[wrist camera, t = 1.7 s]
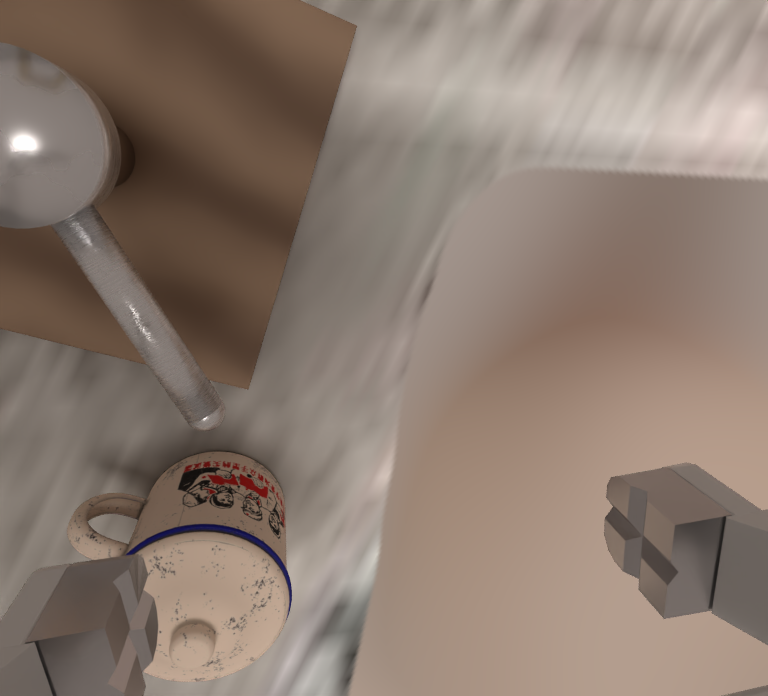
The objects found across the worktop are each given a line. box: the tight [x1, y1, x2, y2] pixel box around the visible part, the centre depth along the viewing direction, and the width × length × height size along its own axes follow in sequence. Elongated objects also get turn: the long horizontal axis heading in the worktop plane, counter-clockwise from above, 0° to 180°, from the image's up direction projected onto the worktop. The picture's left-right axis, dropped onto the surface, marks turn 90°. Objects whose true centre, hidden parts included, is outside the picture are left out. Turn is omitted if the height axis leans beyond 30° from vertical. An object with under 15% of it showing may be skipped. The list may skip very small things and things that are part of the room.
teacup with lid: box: [67, 452, 292, 682], centre depth 29 cm, size 12×9×12 cm
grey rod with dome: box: [0, 42, 225, 431], centre depth 19 cm, size 20×6×3 cm, turn 25°
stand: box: [0, 0, 357, 389], centre depth 22 cm, size 20×20×14 cm
